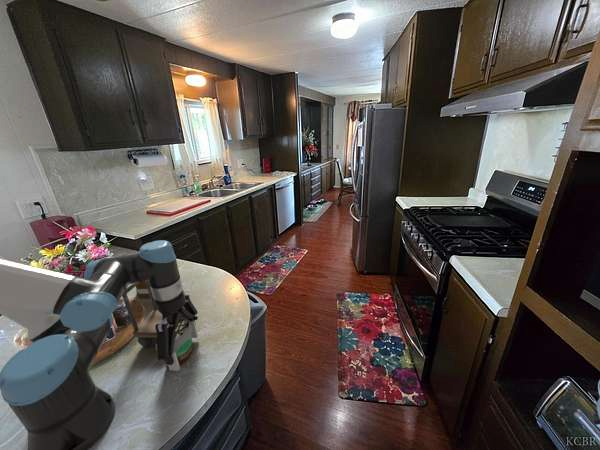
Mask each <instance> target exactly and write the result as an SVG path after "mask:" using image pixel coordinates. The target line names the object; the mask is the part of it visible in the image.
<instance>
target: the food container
mask: <svg viewBox="0 0 600 450" xmlns="http://www.w3.org/2000/svg"><path fill="white" fill-rule="evenodd" d="M181 319H182V320H181V321H180V322H179V323H178V326H177V329H176V330H175V338H174V347H173V351H175V353H176V356H177V359H178V363H179V366H181V365H182V364H184V363H186V362H187V361H188V360H189V359H190V358H191V357H192V355H193V352H194V344H193V338H192V337H191V333H192V325H191V323H190V321H189V320H188V319H187V318H183V317H182V318H181ZM155 352H156V353H157V344H156V345H155ZM162 361H163V363H164V366H165V368H168V369H169V366H168V365H167V364H166V361H165V360H162Z"/></svg>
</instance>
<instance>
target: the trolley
mask: <svg viewBox="0 0 600 450" xmlns="http://www.w3.org/2000/svg"><path fill="white" fill-rule="evenodd" d="M139 283H140V282H138V283H133V284H129V285H128V287H127V288H126V290H125V292H124V294H123V295H122V297H121V298H122V300H123V303H124V306H125V308H126V309H125V310H126V312H127V314H128V317H129V320H130V322H131V326H132V327H133V331H132V334H133V338H137V343H138V344H139V345H140V346H142V347H144V348H151V347H152V346H153V345H154V346H156V344H157V332H156V329H155V326H156V324H160V323H161V322H162V314H161V313H160V312H159V311H158V310H157V307H156V304H155V299H154V298H153V295H152V291H151V288H150V284H149V281H148V280H147V281H145V283H146V286H147V289H148V292H149V296H150V302H151V304H152V307H153V310H152V311H151V312H149V314H147V316H146V317H145V318H144V319H143V320H142V321H141V323H140V324H139V325H138V322H137V320H136V317H135V315H134V311H133V308H132V306H131V302H130V300H129V296H128V293H130V292H131V291H132V290H133V289H134V288H136V287H135V286H136V285H138V284H139ZM181 320H182V319H180V320H179V322H180V321H181ZM179 322H178V323H179ZM168 326H174V325H170V324H168Z"/></svg>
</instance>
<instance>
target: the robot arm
mask: <svg viewBox="0 0 600 450" xmlns="http://www.w3.org/2000/svg"><path fill="white" fill-rule="evenodd" d="M138 251H139V252H138V253H133V254H128V255H120V256H113V257H105V258H101V259H98V260H93V261H90V262H89V263H87V264H86V266H85V271H83V277H81V276H76V275H73V274H72V275H71V274H69V273H68V274H67V273H63V272H59V271H55V270H51V269H50V270H49V269H46V268H42V267H38V266H33V265H29V264H26V263H21V262H17V261H13V260H8V259H7V258H5V257H4V256H3V255H1V254H0V315H1V316H3V317H6V319H9V320H11V321H12V322H15V323H16V324H18V325H20V326H21V327H23V328H24V329H26V331H27V334H26V335H27V336H26V339H27V341H30V342H31V343H30V344H28V345H27V347H26V348H24V349H23V348H22V349H20V350H18V352H16V353H15V354H13V356H12V357H11V358H10V359H9V360H7V361H6V363H5V365H4V366H2V368H1V370H0V393H1V397H2V398H3V401H4V402H5V403H7V405H8V406H9V407H10V409H11V410H12V411H13V413H14V414H15V415H16V417H17V419H18V421H20V423H21V425H22V426H23V427H24V428H25V430H26V431H27V450H89V449H90V448H92V447H93V446H94V445H95V444H96V443H97V442H98V441H99V439H100V438H101V437H102V436H104V434H105V432H106V431H107V429H108V428H109V427H110V425H111V423H112V421H113V419H114V416H115V413H116V404H115V402H114V399H113V397H112V396H111V395H110V394H109V393H108V392H107V391H105V390H104V389H102V388H100V387H98V386H97V385H96V384H95V382H94V380H93V378H92V375H91V374H90V368H91V366H92V365H93V363H94V360H95V359H96V357H97V355H98V353H99V351H100V350H101V348H102V346H103V344H104V342H105V341H106V339H107V337H108V336H109V335H110V331H111V328H112V326H113V321H114V320H113V312H115V310H116V309H117V307H118V304H119V303H120V300H121V298H123V297H122V295H123V294H124V292H125V290H126V289H127V288H128V287H129V286H130V285H132V284H133V283H138V282H143V281H147V280H148V281H149V284H150V288H151V291H152V295H153V298H154V299H155V304H156V307H157V310H158V311H159V312H160V313H161V314H162V322H161V323H160V324H156V326H155V329H156V332H157V352H156V353H157V354H156V357H157V359H156V360H158V361H163V360H165V361H166V364H167V365H168V366H169V368H168V369H169V371H180V369H181V367H180V366H181V365H179V363H178V359H177V356H176V353H175V351H173V347H174V338H175V330H176V329H177V326H178V322H179V320H180V319H181V318H182V317H183V318H187V319H188V320H189V321H190V323H191V325H192V333H191V337H192V339H198V338H199V332H198V329H197V324H196V321H197V320H199V319H198V318H199V316H197V315H198V310H197V308H196V307H195V305H194V304H193V302H192V300H191V299H190V295H189V294H186V293H185V290H184V287H183V283H182V278H181V275H180V271H179V267H178V266H179V265H178V261H177V256H176V254H175V251H174V248H173V245H172V243H171V242H170V241H168V240H164V239H162V240H161V239H159V240H154V241H151V242H147V243H144V244H143V245H141V247H140V248H139V250H138ZM168 324H170V325H174V326H168Z"/></svg>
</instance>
